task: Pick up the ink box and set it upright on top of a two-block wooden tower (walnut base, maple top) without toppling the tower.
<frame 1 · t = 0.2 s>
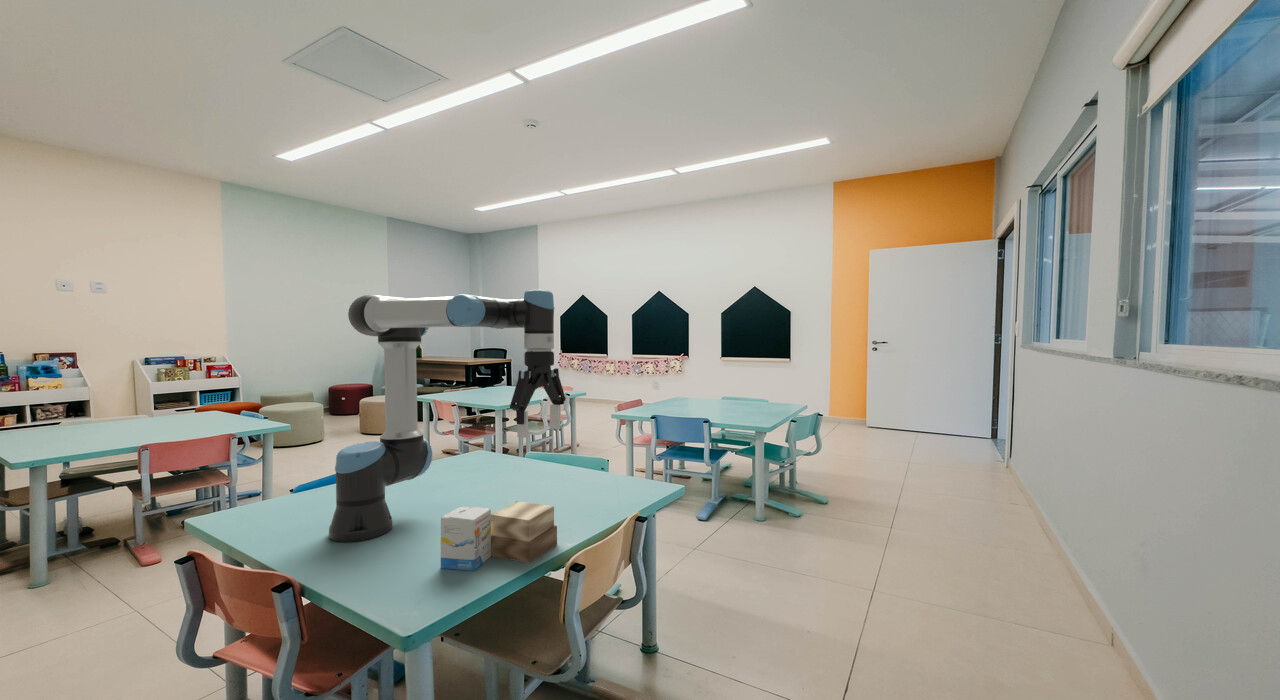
hand: (539, 433, 131), 28 cm above the table, fingers open, 13 cm apart
tower top: (523, 530, 126), point 5 cm above the table, touching tower base
tower base: (523, 550, 126), on the table, touching tower top
ink box: (466, 563, 118), on the table
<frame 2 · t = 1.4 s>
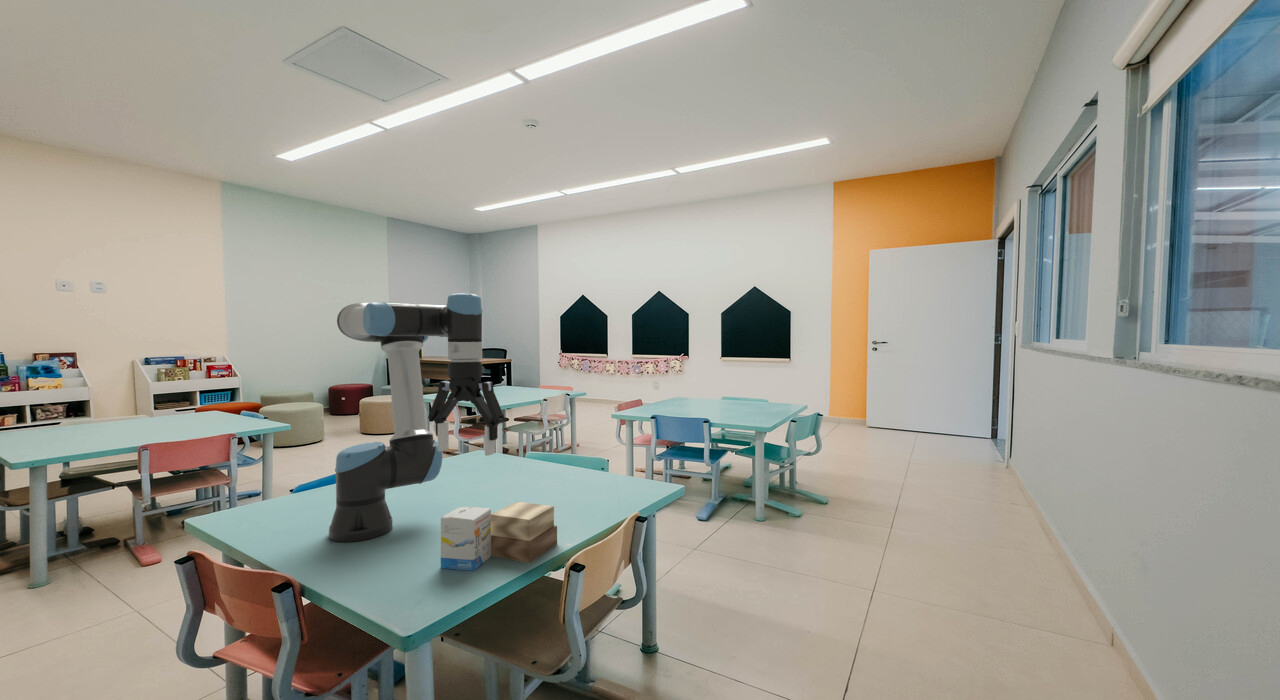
hand: (466, 452, 118), 26 cm above the table, fingers open, 13 cm apart
nothing on the table moved.
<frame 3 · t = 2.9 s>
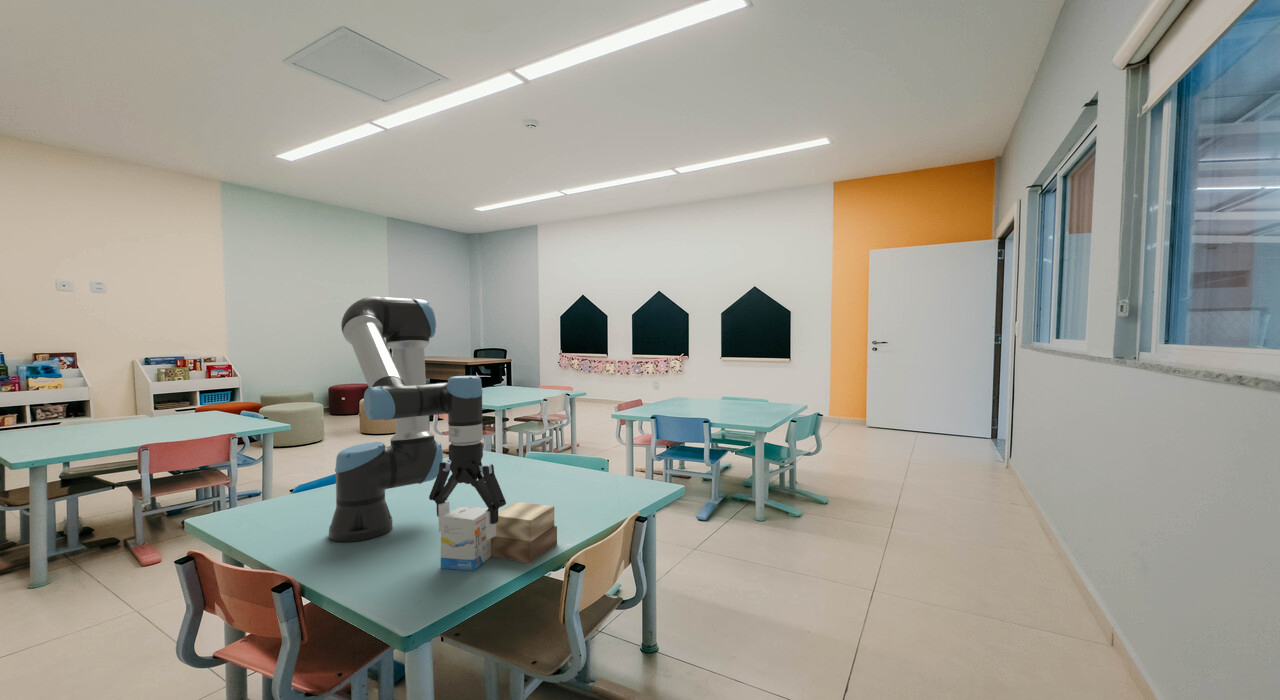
hand: (467, 534, 118), 7 cm above the table, fingers open, 13 cm apart
nothing on the table moved.
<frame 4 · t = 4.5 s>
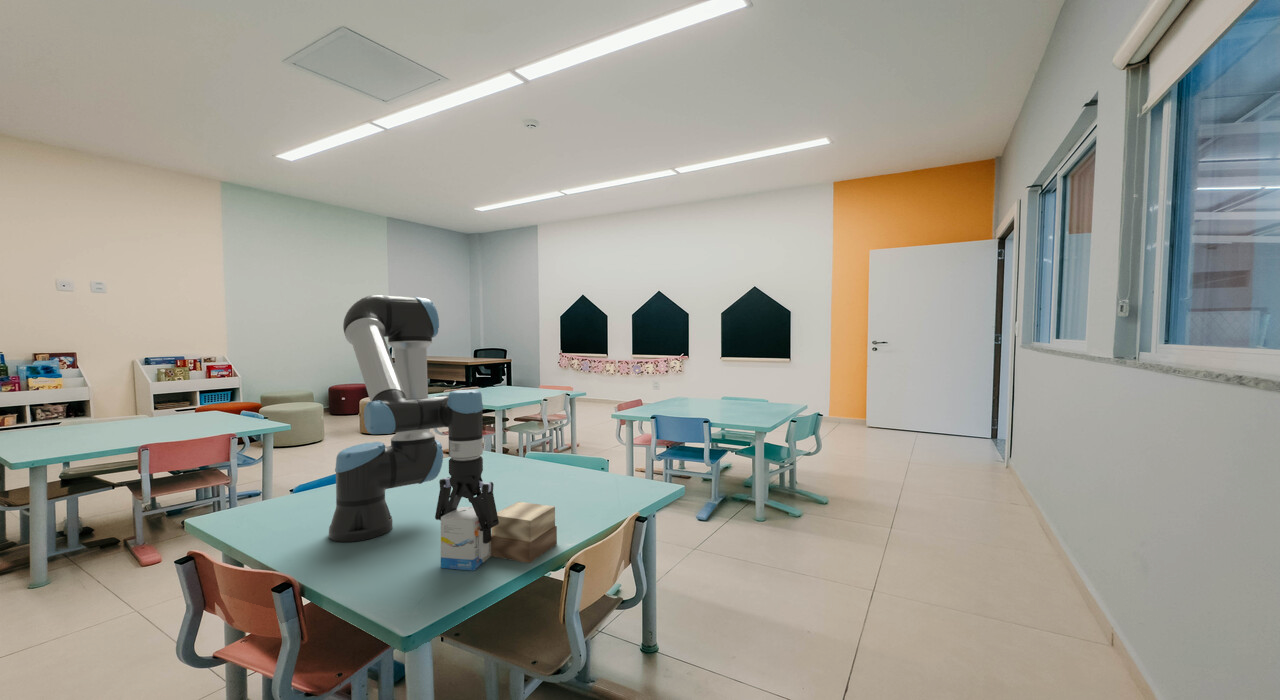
hand: (466, 553, 118), 2 cm above the table, fingers closed on ink box, 9 cm apart
ink box: (466, 562, 118), on the table, touching gripper
everything else where it was.
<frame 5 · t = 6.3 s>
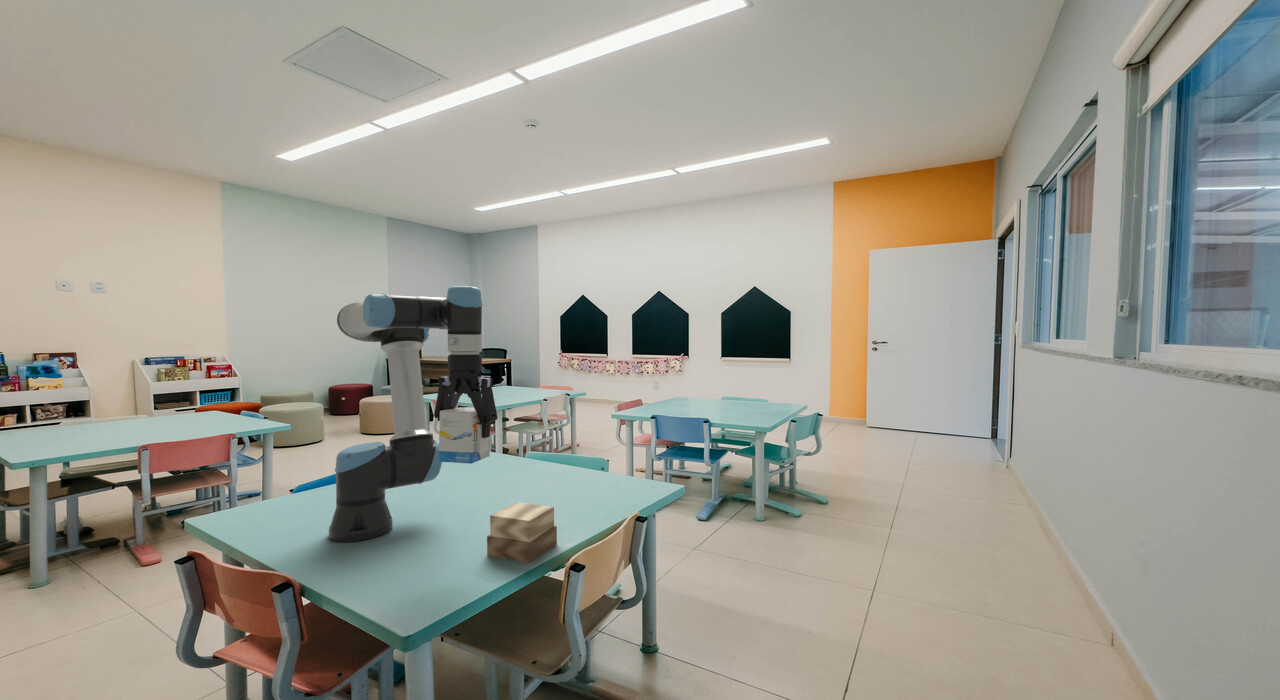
hand: (465, 450, 118), 26 cm above the table, fingers closed on ink box, 9 cm apart
ink box: (465, 460, 118), point 24 cm above the table, touching gripper
everything else where it was.
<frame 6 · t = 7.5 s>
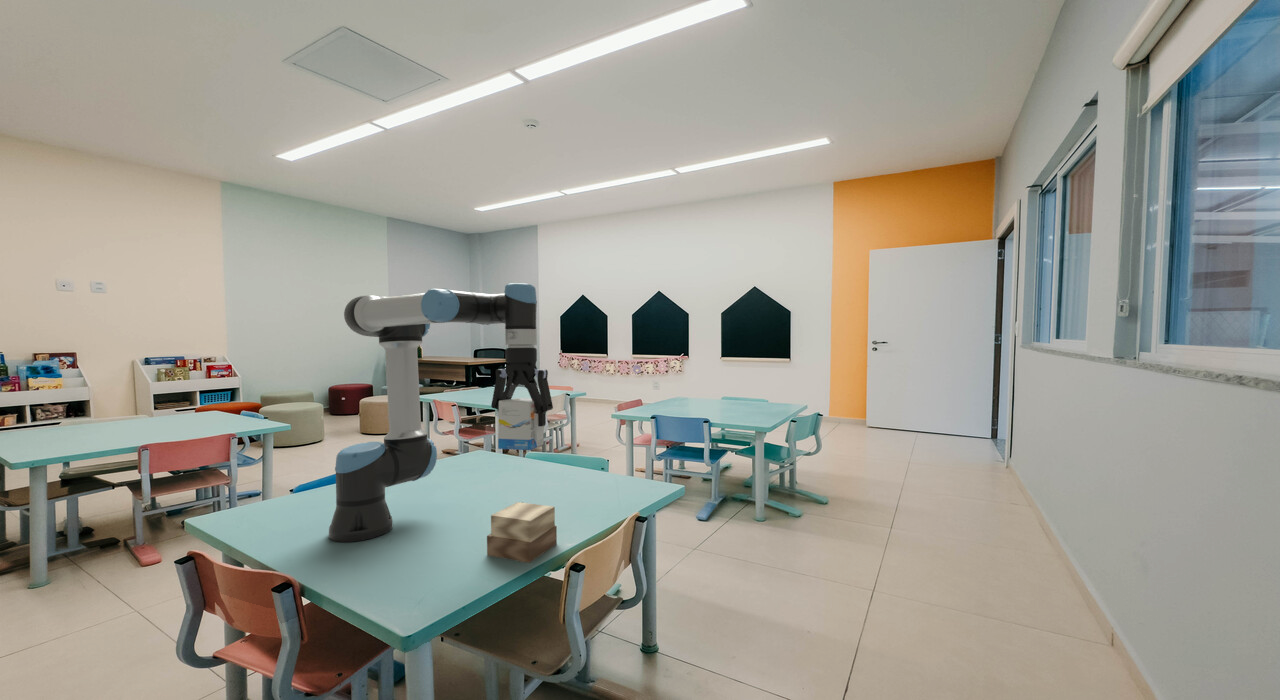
hand: (521, 438, 125), 27 cm above the table, fingers closed on ink box, 9 cm apart
ink box: (521, 447, 125), point 25 cm above the table, touching gripper
everything else where it was.
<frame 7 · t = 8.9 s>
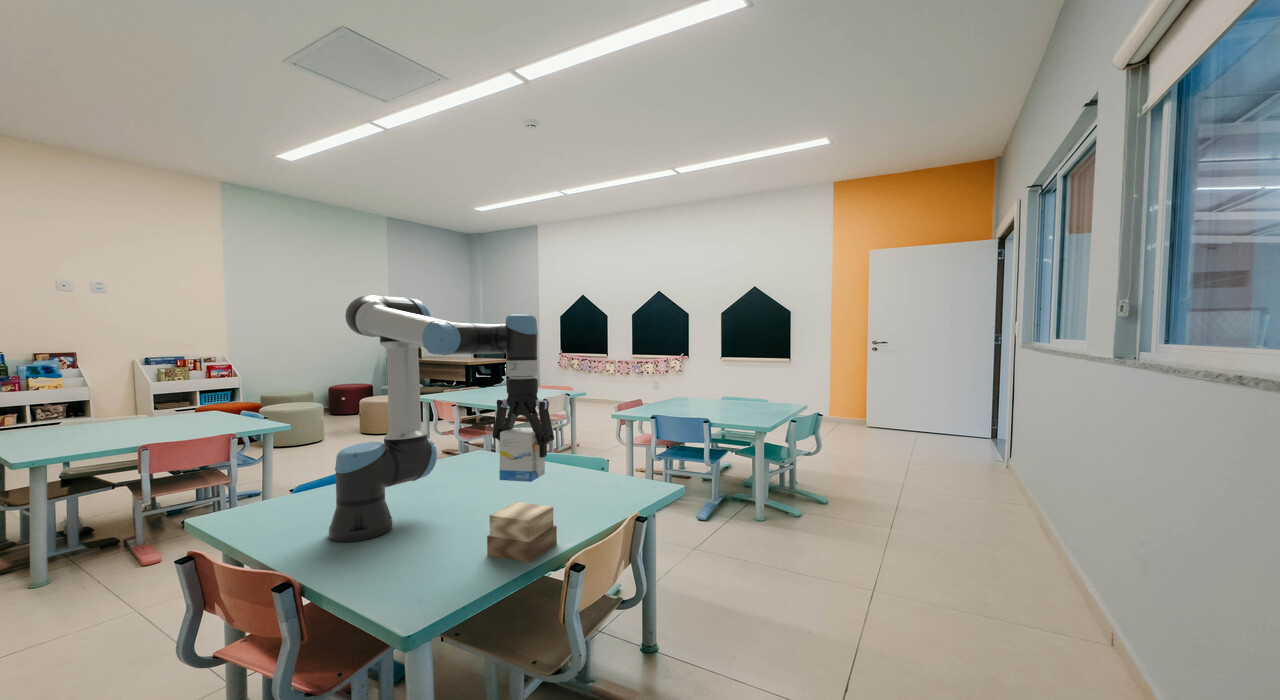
hand: (523, 468, 125), 20 cm above the table, fingers closed on ink box, 9 cm apart
tower top: (522, 531, 125), point 5 cm above the table
tower base: (522, 550, 126), on the table
ink box: (522, 478, 125), point 18 cm above the table, touching gripper
when the fingers open (13 cm above the table, at t = 11.0 s): ink box drops 2 cm, resting on tower top.
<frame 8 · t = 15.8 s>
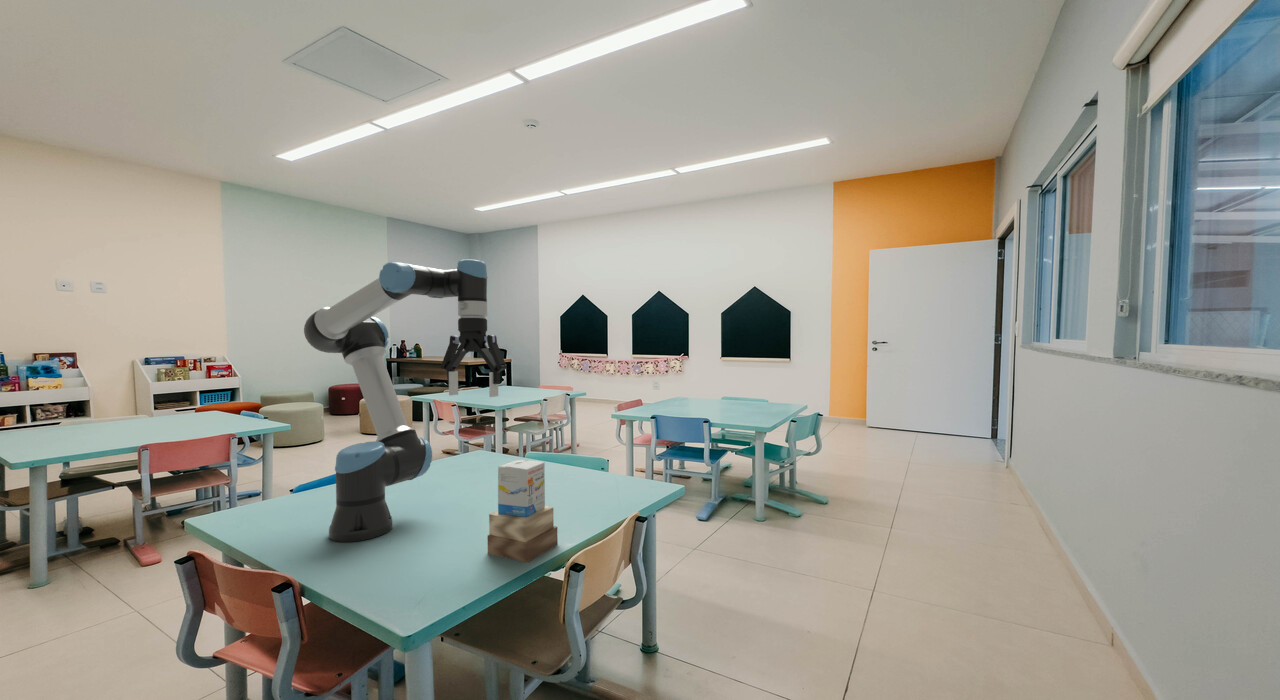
hand: (473, 395, 138), 37 cm above the table, fingers open, 13 cm apart
tower top: (522, 530, 126), point 4 cm above the table, touching ink box, tower base
tower base: (523, 551, 126), on the table, touching tower top
ink box: (522, 511, 126), point 9 cm above the table, touching tower top
at the end: ink box 0.2 cm from the tower top (horizontally); ink box point 9.2 cm above the table; ink box tilted 0° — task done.
